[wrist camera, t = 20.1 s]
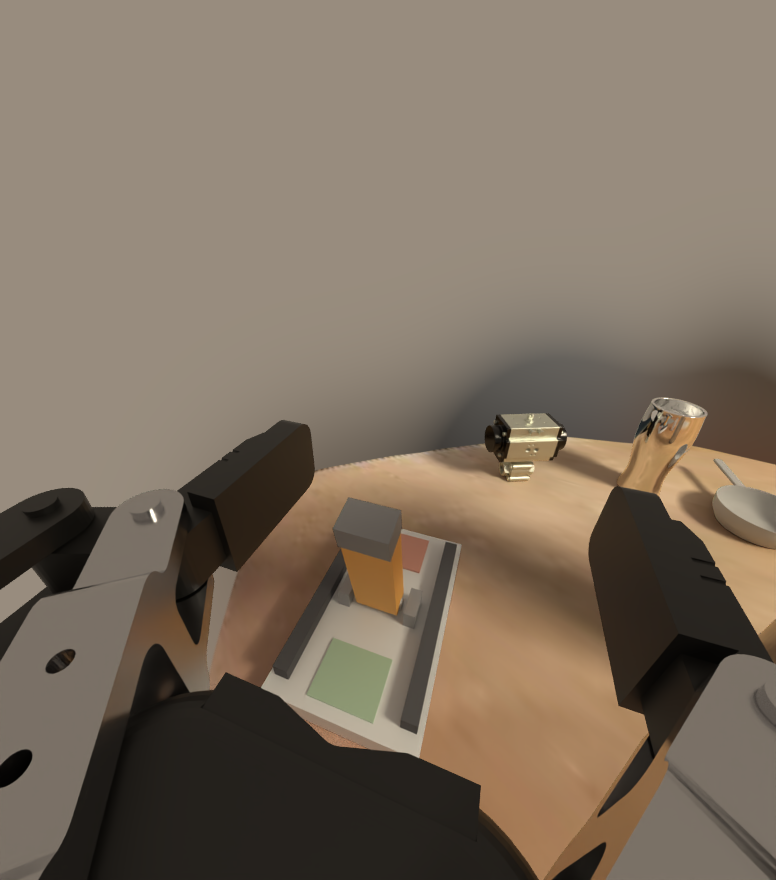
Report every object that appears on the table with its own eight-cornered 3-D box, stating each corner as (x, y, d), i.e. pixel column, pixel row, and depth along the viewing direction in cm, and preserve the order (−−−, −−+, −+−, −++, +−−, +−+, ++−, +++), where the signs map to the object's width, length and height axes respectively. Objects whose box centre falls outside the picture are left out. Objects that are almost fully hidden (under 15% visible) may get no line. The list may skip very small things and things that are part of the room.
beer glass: (654, 479, 59) (696, 400, 51) (669, 505, 53) (719, 421, 46) (609, 471, 61) (643, 394, 53) (619, 496, 55) (659, 413, 47)
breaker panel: (416, 770, 27) (420, 751, 24) (263, 700, 30) (255, 678, 28) (459, 555, 44) (463, 533, 42) (360, 527, 48) (359, 506, 46)
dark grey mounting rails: (416, 734, 27) (418, 727, 26) (274, 674, 30) (272, 665, 30) (455, 552, 42) (457, 544, 42) (358, 526, 46) (358, 518, 45)
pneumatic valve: (477, 469, 61) (489, 408, 54) (540, 466, 62) (558, 406, 56) (487, 489, 56) (502, 425, 50) (555, 486, 57) (578, 423, 51)
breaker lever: (398, 621, 35) (391, 545, 24) (354, 606, 36) (330, 528, 25) (406, 592, 37) (403, 511, 26) (364, 579, 38) (346, 496, 27)
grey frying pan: (729, 547, 47) (745, 527, 45) (671, 471, 62) (681, 453, 60) (826, 564, 45) (847, 544, 43) (742, 481, 59) (754, 463, 57)
